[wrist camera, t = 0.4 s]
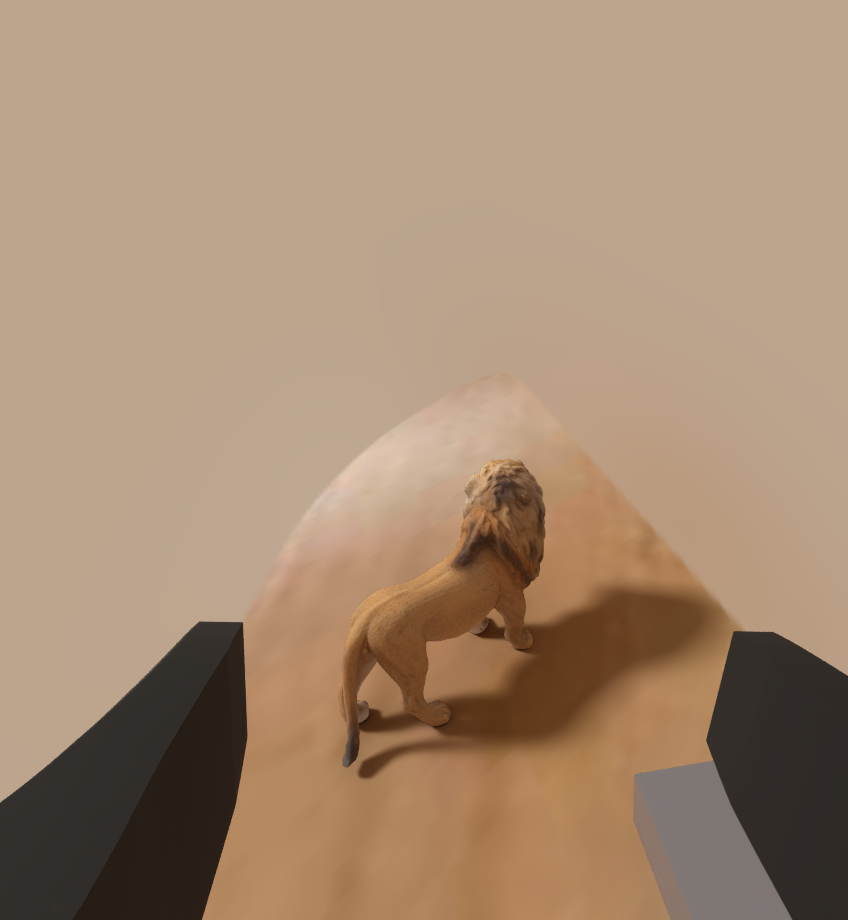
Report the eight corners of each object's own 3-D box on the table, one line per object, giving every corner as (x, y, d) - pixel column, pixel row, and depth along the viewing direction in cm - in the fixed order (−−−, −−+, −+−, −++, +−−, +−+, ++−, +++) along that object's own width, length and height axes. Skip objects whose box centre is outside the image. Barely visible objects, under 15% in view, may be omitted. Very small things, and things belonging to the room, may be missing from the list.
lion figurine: (495, 568, 42) (480, 434, 38) (575, 601, 39) (570, 460, 35) (309, 747, 33) (260, 601, 29) (394, 810, 30) (354, 656, 26)
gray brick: (788, 979, 24) (800, 930, 22) (697, 995, 23) (703, 948, 22) (708, 809, 29) (713, 760, 27) (633, 822, 29) (634, 774, 27)
